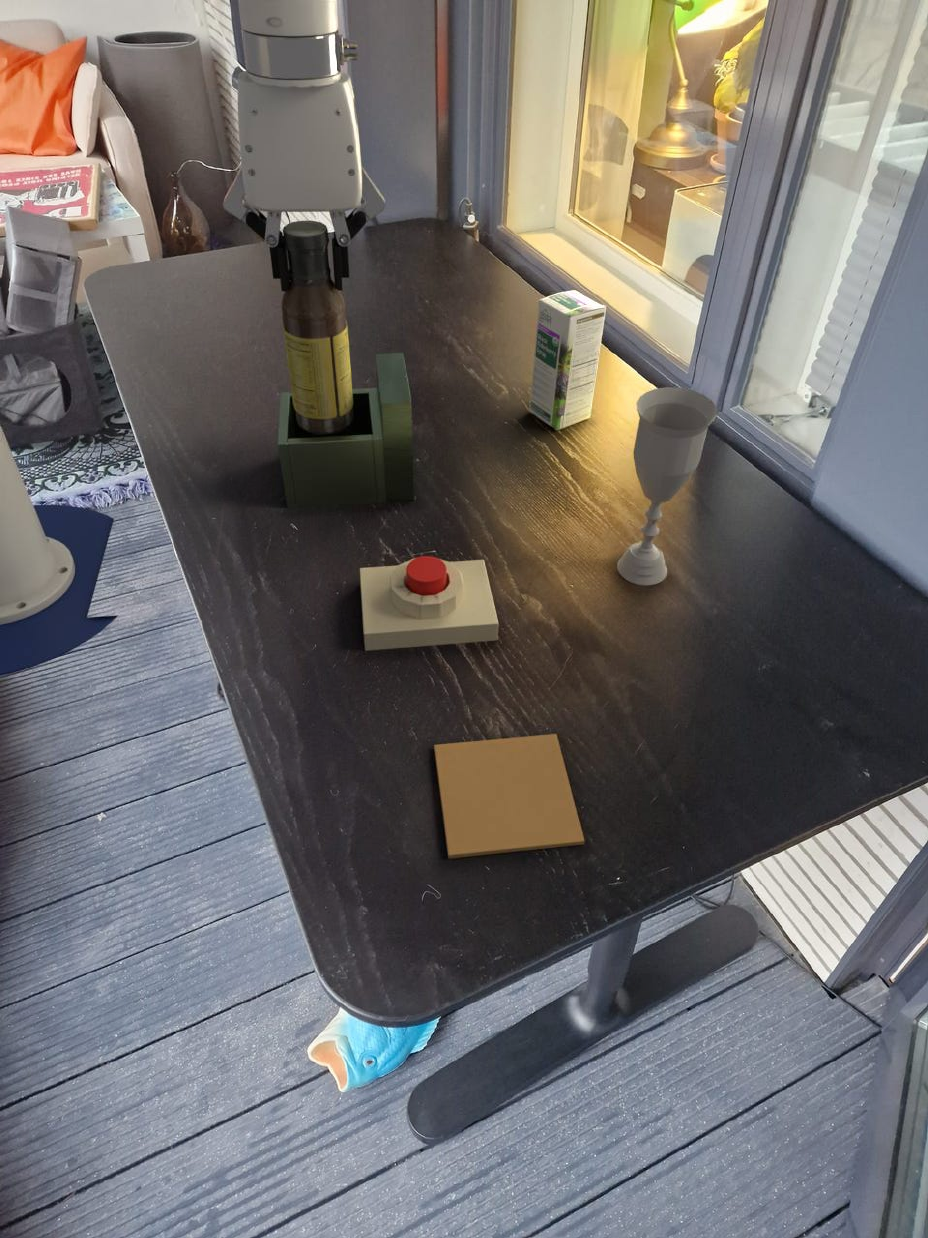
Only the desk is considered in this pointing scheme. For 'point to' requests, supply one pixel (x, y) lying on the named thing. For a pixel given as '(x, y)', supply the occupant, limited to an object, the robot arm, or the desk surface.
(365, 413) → the green open box holder
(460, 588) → the control block
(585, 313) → the syrup box
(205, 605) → the desk surface
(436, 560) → the button
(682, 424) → the chalice
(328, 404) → the sauce bottle
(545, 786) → the mat
